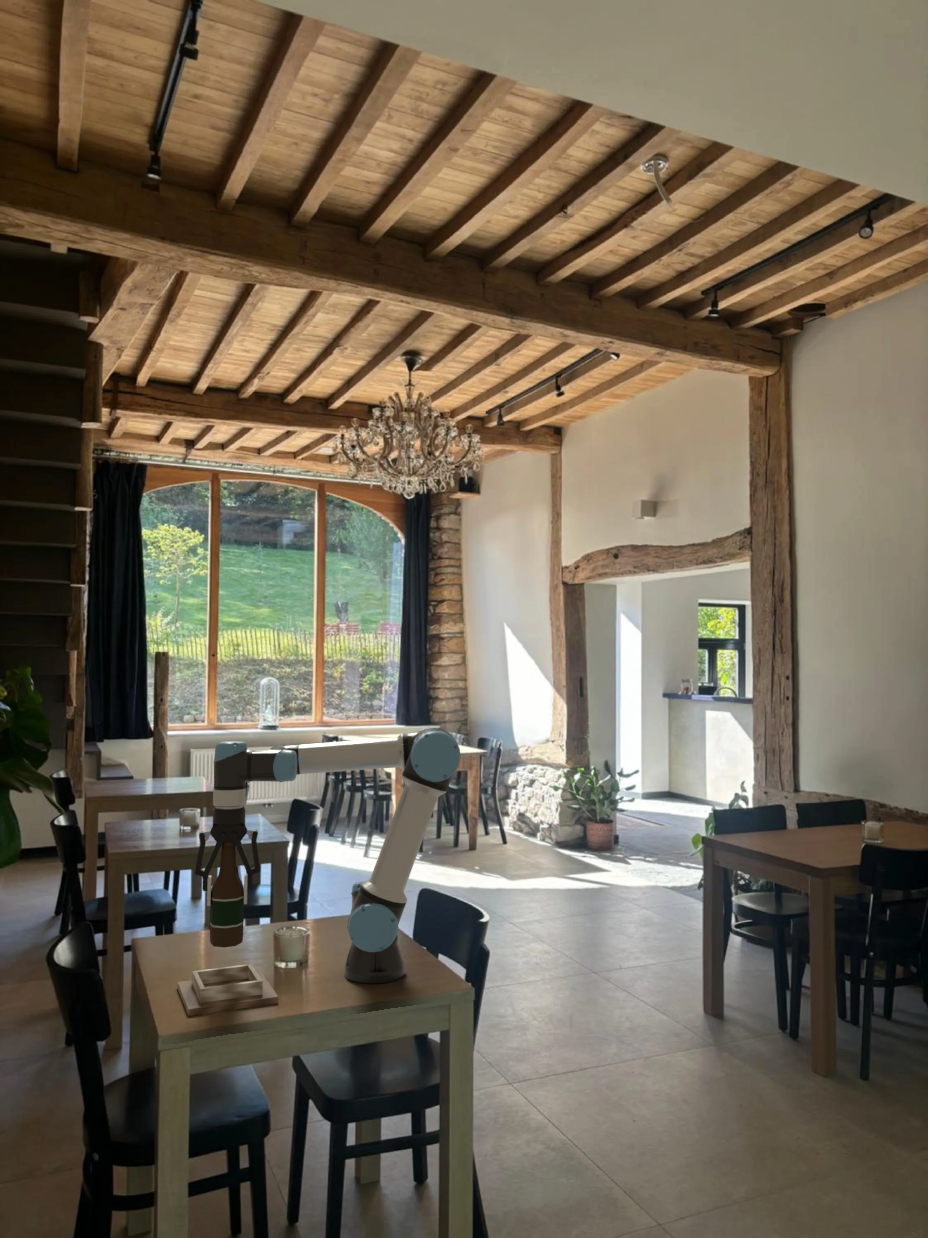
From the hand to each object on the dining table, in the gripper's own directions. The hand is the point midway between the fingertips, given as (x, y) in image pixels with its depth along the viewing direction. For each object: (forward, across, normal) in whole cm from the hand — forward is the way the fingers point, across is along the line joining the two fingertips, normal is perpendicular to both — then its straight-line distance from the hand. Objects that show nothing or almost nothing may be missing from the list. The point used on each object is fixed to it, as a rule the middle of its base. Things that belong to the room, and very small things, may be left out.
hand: (227, 903), depth 218 cm
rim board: (+21, 0, 0) cm, 21 cm away
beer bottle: (+9, 0, 0) cm, 9 cm away
